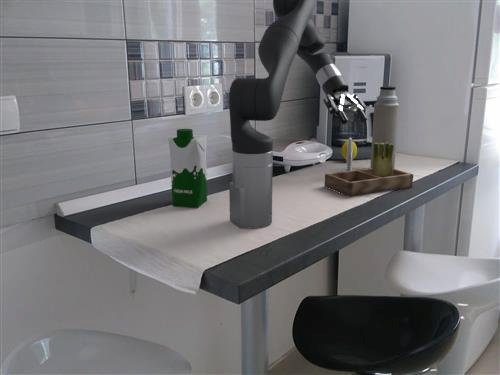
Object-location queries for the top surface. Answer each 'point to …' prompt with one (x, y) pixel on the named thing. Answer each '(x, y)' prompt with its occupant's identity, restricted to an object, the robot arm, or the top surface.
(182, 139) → the milk carton
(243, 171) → the robot arm
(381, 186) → the caddy
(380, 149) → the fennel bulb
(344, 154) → the lemon
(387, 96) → the thermos bottle
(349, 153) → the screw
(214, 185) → the top surface
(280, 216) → the top surface
